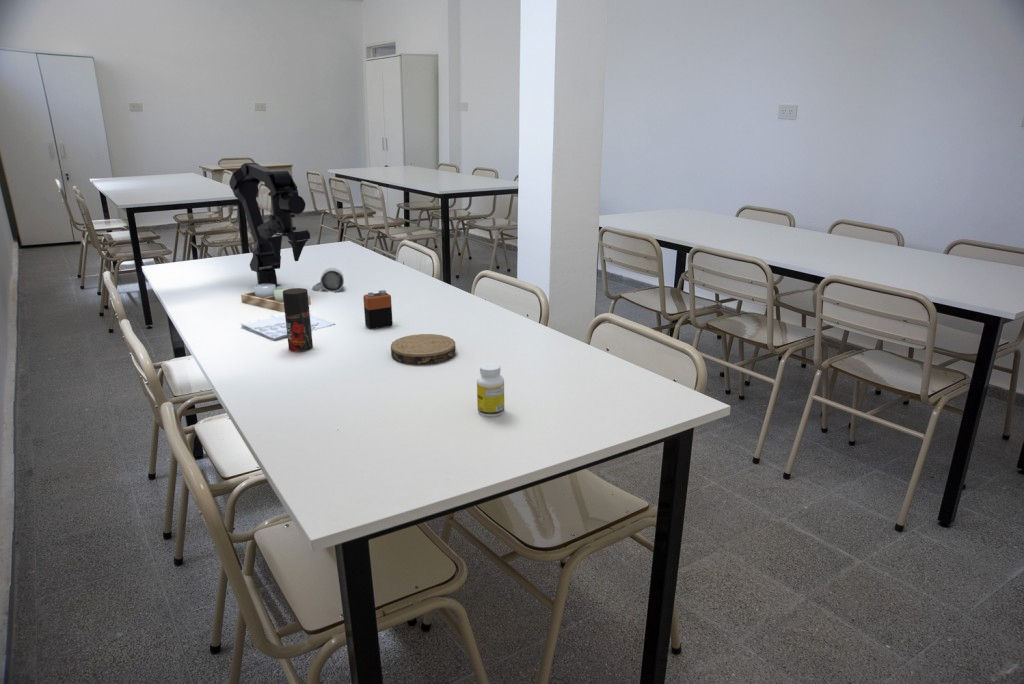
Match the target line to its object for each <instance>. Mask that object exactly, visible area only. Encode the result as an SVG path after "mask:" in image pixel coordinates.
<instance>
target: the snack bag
mask: <svg viewBox="0 0 1024 684" xmlns="http://www.w3.org/2000/svg"><path fill="white" fill-rule="evenodd" d="M310 322H311V332H312V333H313V332H314V331H317V329H318V330H320V329H321V328H322V329H325V327H326V328H328V327H332V325H333V326H336V323H335V322H331V321H329V320H326V319H325V318H324V319H323V318H320V317H318V316H315V315H312V314H310ZM240 327H241V328H242V327H243V329H245V328H246V329H245V330H247V329H248V330H247V331H249V330H250V332H252V333H255V334H257V335H260V336H262V337H263V338H264V337H265V338H267V339H269V340H271V341H279V340H282V339H285V338H286V339H287V338H288V337H287V328H286V319H285V315H282V316H277V317H276V316H275V315H272V316H269V317H265V318H260V319H257V320H253V321H248V322H245V323H244V322H243V323H240ZM313 330H314V331H313Z"/></svg>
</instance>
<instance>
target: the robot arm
mask: <svg viewBox="0 0 1024 684" xmlns="http://www.w3.org/2000/svg"><path fill="white" fill-rule="evenodd" d="M228 181H229V182H228V183H229V189H231V190H232V193H233V195H234V197H235V198H236V199H237V200H238V201H239V202H241V204H242V207H243V210H244V214H245V217H246V220H247V223H248V226H249V229H250V234H251V236H252V239H253V242H254V245H253V247H252V251H251V253H252V257H251V260H250V262H249V267H250V271H252V272H255V273H256V278H257V279H256V280H257V285H258V284H267V283H270V284H275V286H276V287H279V286H281V283H280V284H279V283H278V280H277V279H278V278H277V273H276V270H277V269H278V270H280V269H281V262H282V261H281V260H282V255H281V251H282V250H281V249H282V240H283V237H287V239H288V241H287V242H288V244H290V246H291V250H292V255H293V260H294V262H298V261H299V260H300V257H301V254H302V252H303V249H304V247H305V245H306V243H307V242H308V241H309V240H311V232H310V231H309V230H308V229H301V228H299V229H297V226H294V224H293V218H295V217H296V216H295V215H299V214H302V213H303V212H305V208H306V202H305V200H304V198H303V197H302V196H301V195H299V190H298V186H297V184H296V183H295V180H294V179H293V176H292V175H291V174H290V172H289V171H288V170H286V169H285V170H284V169H278V170H276V169H275V170H274V169H270V168H268V167H266V166H263V165H260V164H259V163H257V162H245V163H242V164H241V166H240V168H239V169H237V170H235V171H234V172H233V173H232V174H231V176H230V179H229V180H228ZM260 182H262V183H264V187H266V188H267V189H268V190H269V192H268V195H267V196H269V197H270V202H271V209H272V211H271V212H272V214H270V215H269V220H268V221H264V219H263V216H262V213H261V210H260V206H259V203H258V199H257V196H258V193H259V185H260Z"/></svg>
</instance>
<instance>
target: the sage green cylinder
mask: <svg viewBox="0 0 1024 684" xmlns="http://www.w3.org/2000/svg"><path fill="white" fill-rule="evenodd" d="M293 288H294V287H289V286H285V287H284V286H283V287H277V288H276V289H274V297H275V301H277V302H282V303H284V301H283V291H284V290H287V289H293Z"/></svg>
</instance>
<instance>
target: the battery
mask: <svg viewBox="0 0 1024 684" xmlns="http://www.w3.org/2000/svg"><path fill="white" fill-rule="evenodd" d="M362 299H363V310H364V323H365V327H367V328H368V329H369V330H375V329H376V330H377V329H381V328H383V329H384V328H389V327H392V326H393V325H394V324H393V322H394V321H393V309H392V306H393V305H392V295H391V294H390V293H387V290H385V289H381V290H378V292H377V293H376V292H375V293H374V292H372V291H371V292H368V293H367V294H364V295H363V298H362Z"/></svg>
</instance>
